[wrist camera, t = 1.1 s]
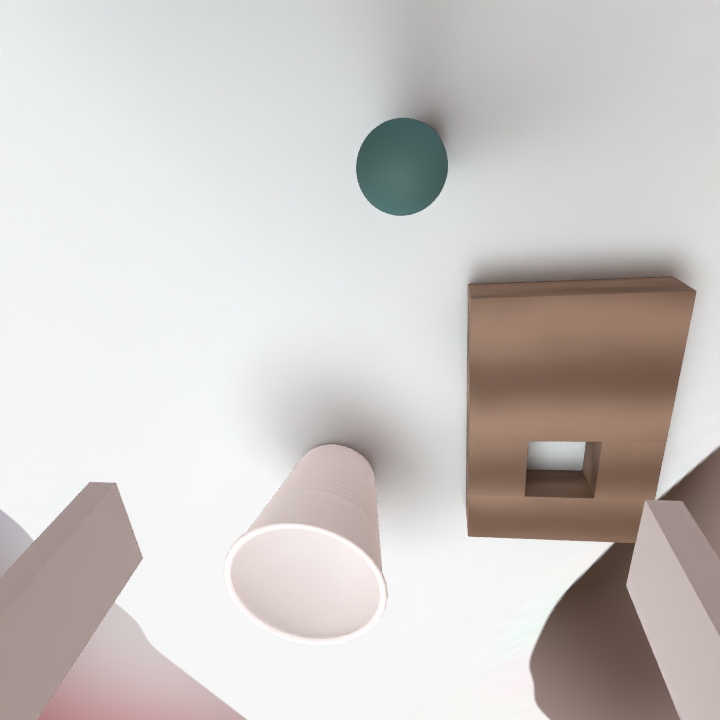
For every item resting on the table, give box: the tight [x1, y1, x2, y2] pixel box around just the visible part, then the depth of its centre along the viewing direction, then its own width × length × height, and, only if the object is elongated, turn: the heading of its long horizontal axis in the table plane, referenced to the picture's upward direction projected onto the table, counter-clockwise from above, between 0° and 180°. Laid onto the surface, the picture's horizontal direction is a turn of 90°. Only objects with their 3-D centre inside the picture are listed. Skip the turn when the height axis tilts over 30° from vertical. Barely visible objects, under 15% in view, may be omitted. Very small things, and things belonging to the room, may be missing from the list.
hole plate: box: [466, 277, 696, 543], centre depth 33 cm, size 18×12×3 cm, turn 5°
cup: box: [224, 444, 388, 645], centre depth 35 cm, size 10×10×11 cm
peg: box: [356, 118, 448, 216], centre depth 23 cm, size 3×3×14 cm
